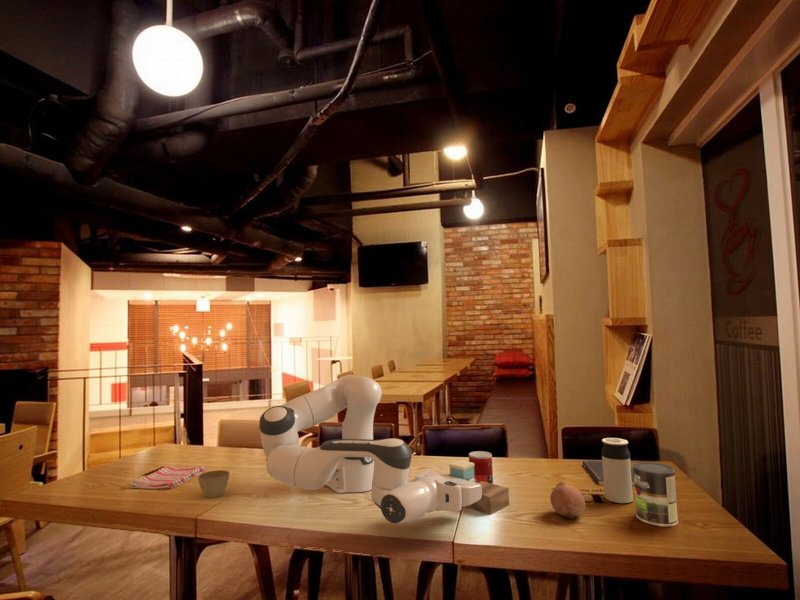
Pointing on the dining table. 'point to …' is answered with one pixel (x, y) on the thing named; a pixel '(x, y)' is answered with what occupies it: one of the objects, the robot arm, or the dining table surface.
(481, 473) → the canned food
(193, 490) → the dining table surface
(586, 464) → the hardcover book
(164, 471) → the dish towel
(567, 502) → the onion
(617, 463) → the travel mug
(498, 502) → the riser block
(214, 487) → the flower pot
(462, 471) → the tea tin
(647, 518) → the coffee can
